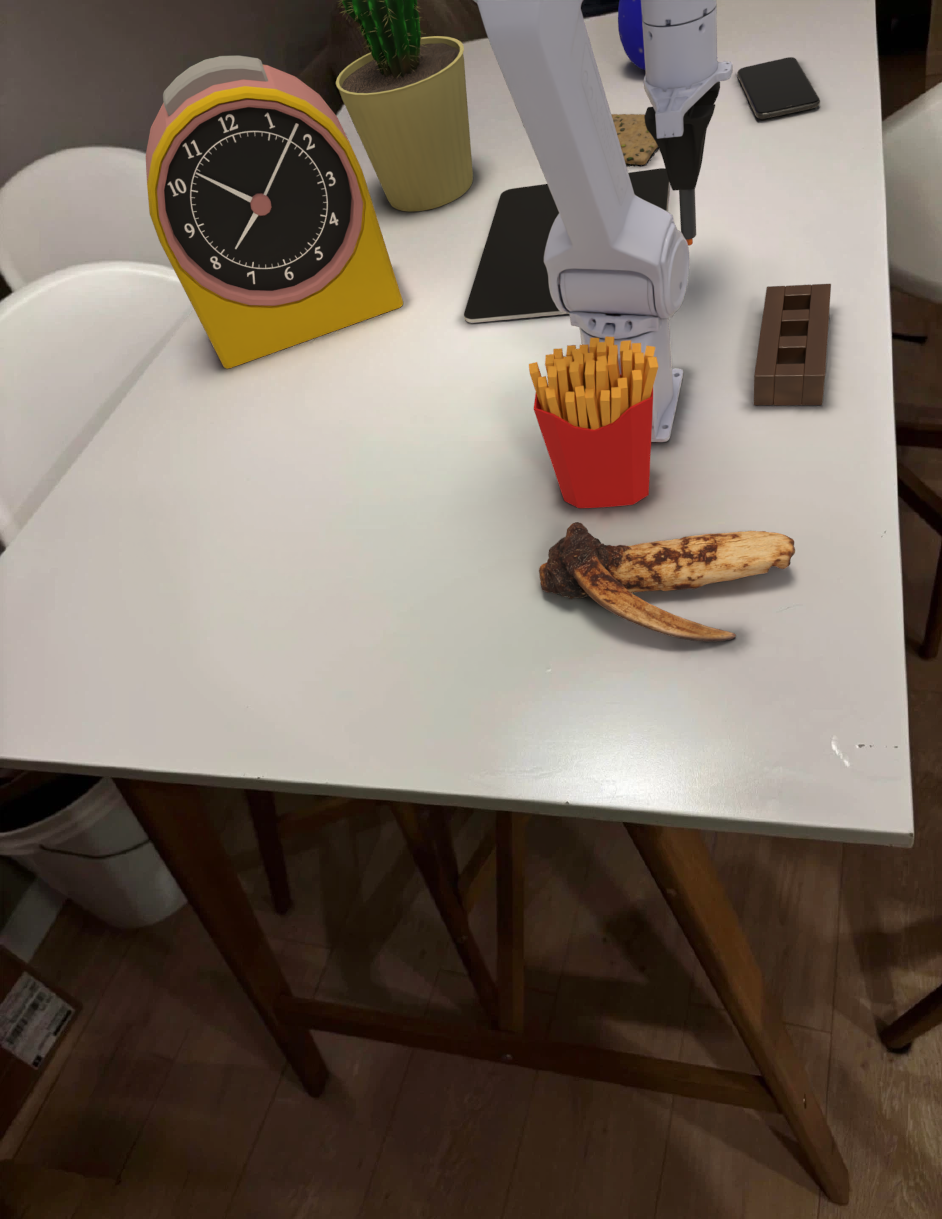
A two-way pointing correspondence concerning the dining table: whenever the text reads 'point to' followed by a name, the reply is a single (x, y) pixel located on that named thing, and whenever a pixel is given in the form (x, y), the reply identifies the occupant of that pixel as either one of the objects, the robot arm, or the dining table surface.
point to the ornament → (632, 31)
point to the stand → (793, 345)
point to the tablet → (531, 250)
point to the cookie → (634, 138)
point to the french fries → (598, 420)
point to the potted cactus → (409, 105)
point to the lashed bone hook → (658, 572)
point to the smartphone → (777, 88)
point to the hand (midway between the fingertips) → (685, 182)
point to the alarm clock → (263, 209)
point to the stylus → (688, 214)
